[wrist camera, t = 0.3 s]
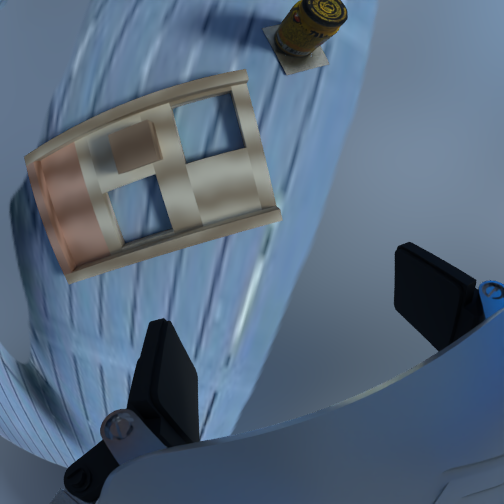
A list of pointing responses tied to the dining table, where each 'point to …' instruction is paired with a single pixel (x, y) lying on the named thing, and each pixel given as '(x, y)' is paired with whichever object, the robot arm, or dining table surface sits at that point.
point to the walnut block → (135, 146)
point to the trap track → (167, 172)
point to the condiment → (306, 33)
